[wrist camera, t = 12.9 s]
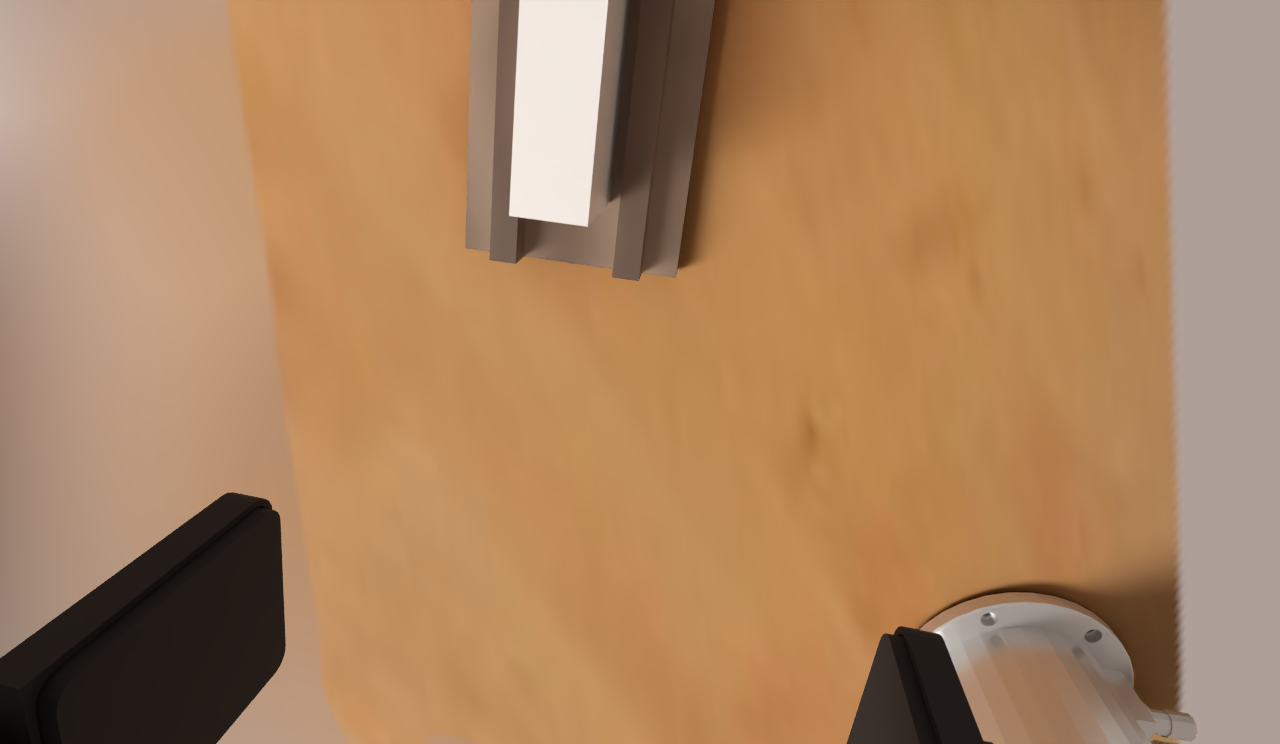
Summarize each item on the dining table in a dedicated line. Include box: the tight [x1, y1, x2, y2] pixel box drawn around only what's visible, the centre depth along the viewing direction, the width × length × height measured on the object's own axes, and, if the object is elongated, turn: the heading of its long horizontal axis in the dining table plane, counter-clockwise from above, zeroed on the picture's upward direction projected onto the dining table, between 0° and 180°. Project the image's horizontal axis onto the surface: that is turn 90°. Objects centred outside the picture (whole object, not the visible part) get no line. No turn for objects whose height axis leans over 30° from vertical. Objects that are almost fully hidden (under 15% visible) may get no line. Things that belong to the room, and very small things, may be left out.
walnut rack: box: [466, 0, 715, 281], centre depth 29 cm, size 10×22×2 cm, turn 173°
